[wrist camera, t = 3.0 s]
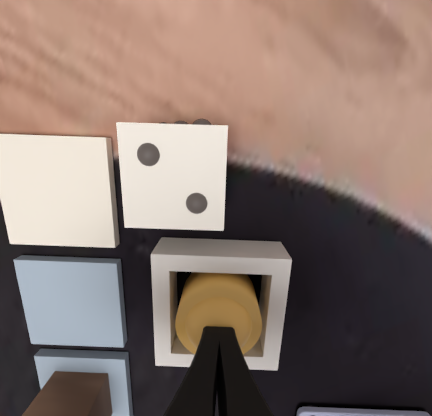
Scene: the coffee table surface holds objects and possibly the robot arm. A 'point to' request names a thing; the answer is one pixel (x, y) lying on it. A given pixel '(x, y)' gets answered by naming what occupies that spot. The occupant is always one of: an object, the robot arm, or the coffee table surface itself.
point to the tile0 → (91, 371)
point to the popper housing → (219, 263)
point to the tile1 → (73, 300)
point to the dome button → (218, 308)
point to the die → (173, 174)
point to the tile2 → (58, 190)
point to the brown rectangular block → (73, 395)
